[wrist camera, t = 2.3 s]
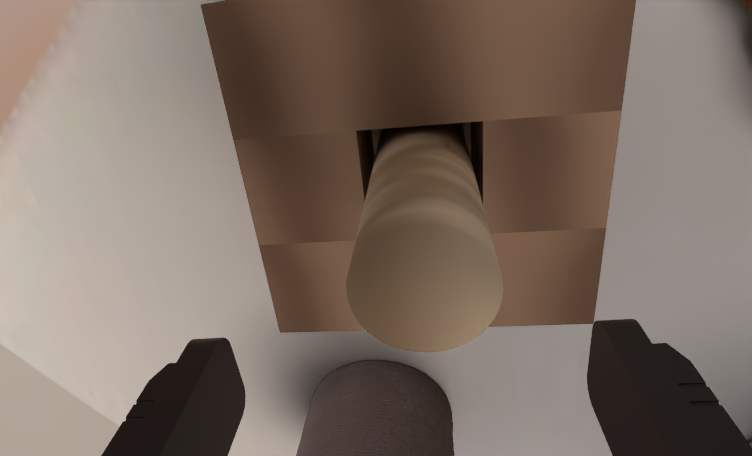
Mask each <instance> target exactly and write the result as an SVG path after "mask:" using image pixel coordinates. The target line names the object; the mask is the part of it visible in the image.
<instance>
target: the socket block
mask: <svg viewBox="0 0 752 456" xmlns="http://www.w3.org/2000/svg"><path fill="white" fill-rule="evenodd" d="M635 3H636V0H226V1H220V2H214V3H208V4H202V5H201V8H202V12H203V16H204V20H205V24H206V29H207V33H208V37H209V41H210V45H211V49H212V53H213V57H214V62H215V66H216V70H217V74H218V78H219V82H220V86H221V90H222V95H223V99H224V103H225V107H226V111H227V115H228V119H229V123H230V128H231V132H232V136H233V140H234V144H235V148H236V152H237V156H238V161H239V165H240V169H241V173H242V177H243V181H244V185H245V189H246V194H247V198H248V202H249V206H250V210H251V214H252V218H253V222H254V227H255V231H256V235H257V239H258V243H259V247H260V251H261V255H262V260H263V264H264V268H265V272H266V276H267V280H268V284H269V288H270V293H271V297H272V301H273V305H274V309H275V313H276V317H277V321H278V326H279V330H280V333H281V332H317V331H352V330H365V329H364V328H363V327H362V326H361V324H360V323H359V322H358V321H357V319H356V318H355V316H354V314H353V313H352V311H351V308H350V306H349V303H348V299H347V292H346V282H347V275H348V271H349V267H350V263H351V258H352V254H353V250H354V246H355V241H356V237H357V233H358V228H359V224H360V220H361V216H362V211H363V207H364V203H365V199H366V194H367V190H368V186H369V181H370V177H371V173H372V169H373V164H374V160H375V156H376V152H377V147H378V143H379V139H380V135H381V131H382V129H386V128H399V127H412V126H425V125H438V124H451V123H460V125H461V127H462V129H463V133H464V137H465V140H466V144H467V148H468V151H469V155H470V159H471V163H472V166H473V170H474V174H475V177H476V181H477V185H478V189H479V192H480V196H481V200H482V204H483V207H484V211H485V215H486V218H487V222H488V226H489V230H490V233H491V237H492V241H493V245H494V248H495V252H496V256H497V259H498V263H499V267H500V271H501V275H502V279H503V298H502V302H501V305H500V308H499V310H498V313H497V315H496V316H495V318H494V319H493V321H492V322H491V323H490V325H489V326H488V327H493V326H528V325H563V324H593V323H594V315H595V307H596V300H597V292H598V285H599V277H600V269H601V262H602V254H603V246H604V239H605V231H606V224H607V216H608V208H609V201H610V193H611V186H612V178H613V170H614V163H615V155H616V148H617V140H618V132H619V125H620V117H621V110H622V102H623V94H624V87H625V79H626V72H627V64H628V56H629V49H630V41H631V34H632V26H633V18H634V11H635Z"/></svg>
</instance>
